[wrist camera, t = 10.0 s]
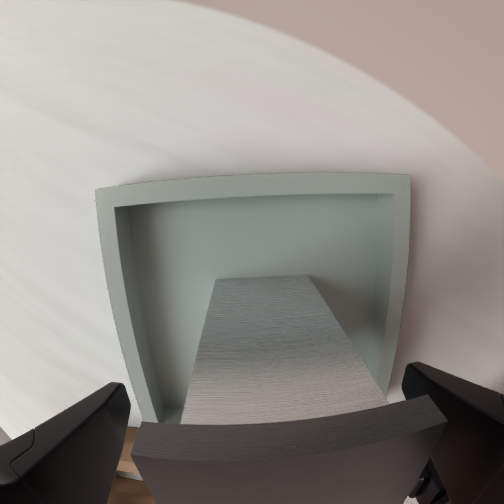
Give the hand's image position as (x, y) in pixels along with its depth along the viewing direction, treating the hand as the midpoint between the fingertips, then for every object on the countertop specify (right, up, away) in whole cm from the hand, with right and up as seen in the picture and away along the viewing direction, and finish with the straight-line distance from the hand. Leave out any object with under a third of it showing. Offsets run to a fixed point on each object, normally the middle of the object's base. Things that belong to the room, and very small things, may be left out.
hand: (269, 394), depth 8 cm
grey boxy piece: (0, +1, +5) cm, 6 cm away
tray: (0, +1, +6) cm, 6 cm away
